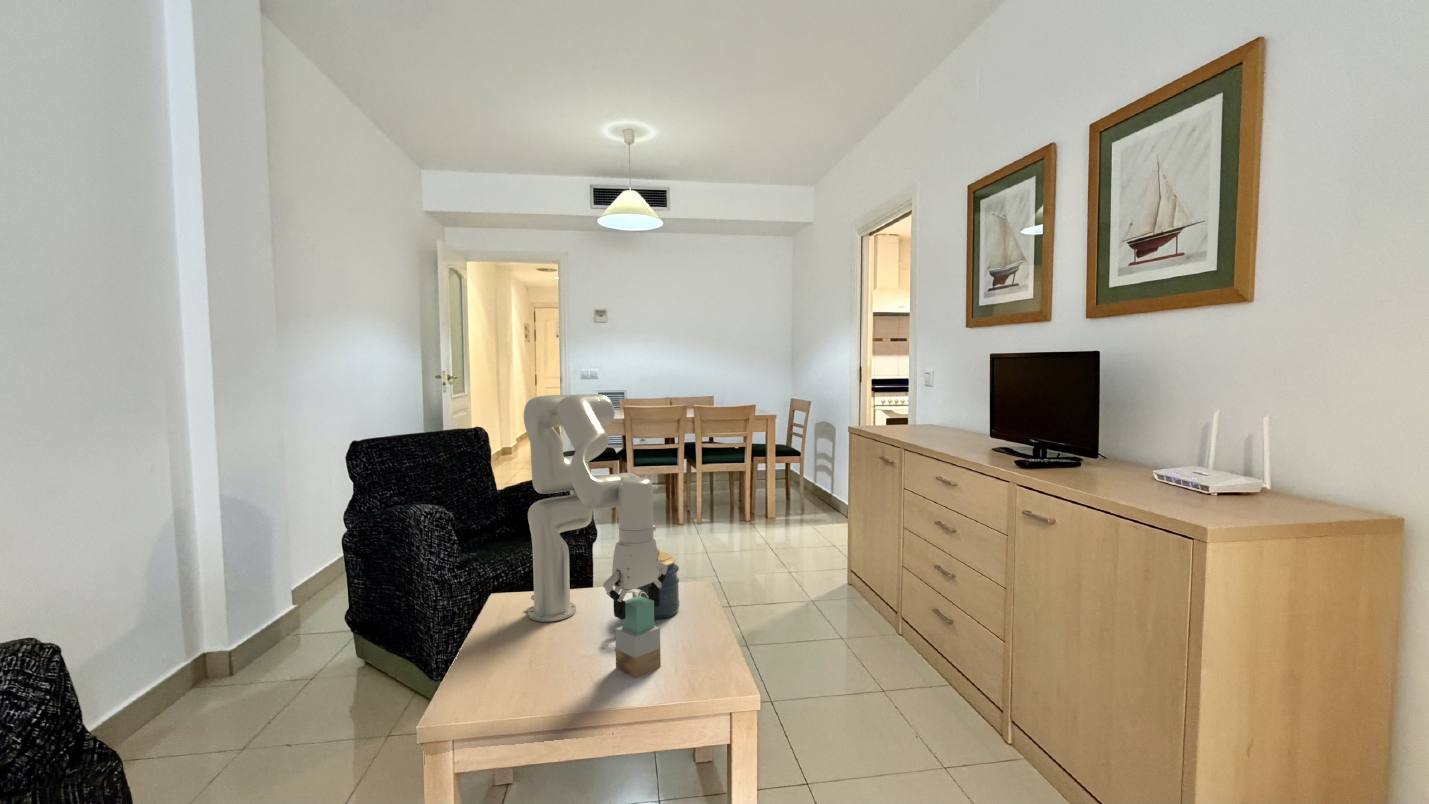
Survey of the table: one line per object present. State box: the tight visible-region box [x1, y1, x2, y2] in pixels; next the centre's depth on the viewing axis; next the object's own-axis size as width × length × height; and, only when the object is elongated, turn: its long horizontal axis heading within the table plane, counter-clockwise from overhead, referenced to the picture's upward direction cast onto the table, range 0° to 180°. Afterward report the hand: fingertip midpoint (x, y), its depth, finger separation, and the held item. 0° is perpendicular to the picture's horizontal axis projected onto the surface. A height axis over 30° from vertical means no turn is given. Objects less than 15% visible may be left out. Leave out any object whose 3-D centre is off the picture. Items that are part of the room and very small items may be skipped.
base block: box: [615, 647, 662, 679], centre depth 136 cm, size 7×7×4 cm
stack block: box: [621, 596, 655, 635], centre depth 136 cm, size 5×5×6 cm
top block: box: [614, 624, 661, 658], centre depth 136 cm, size 7×7×4 cm
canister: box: [631, 547, 680, 620], centre depth 168 cm, size 13×13×18 cm
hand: (637, 611), depth 136 cm, fingers open, 9 cm apart
